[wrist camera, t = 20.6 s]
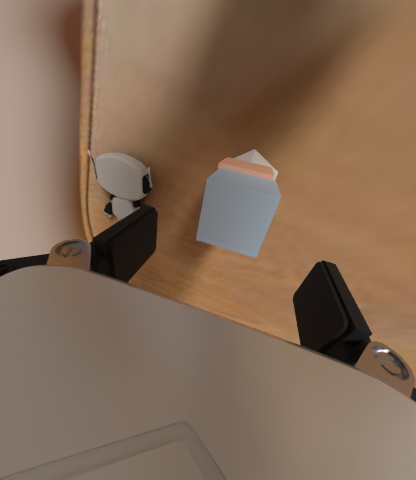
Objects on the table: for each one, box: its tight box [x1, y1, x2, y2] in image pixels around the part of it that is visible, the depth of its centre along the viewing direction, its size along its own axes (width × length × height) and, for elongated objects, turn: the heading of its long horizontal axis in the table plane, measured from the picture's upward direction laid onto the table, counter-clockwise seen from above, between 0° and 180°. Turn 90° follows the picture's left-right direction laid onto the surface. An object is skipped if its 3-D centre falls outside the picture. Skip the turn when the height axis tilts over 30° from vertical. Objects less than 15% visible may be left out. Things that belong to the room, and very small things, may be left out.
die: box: [233, 149, 278, 181], centre depth 29 cm, size 8×9×10 cm
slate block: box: [196, 167, 281, 258], centre depth 19 cm, size 6×6×6 cm
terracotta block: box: [217, 157, 274, 180], centre depth 23 cm, size 6×6×6 cm
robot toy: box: [88, 150, 153, 221], centre depth 38 cm, size 12×4×15 cm
